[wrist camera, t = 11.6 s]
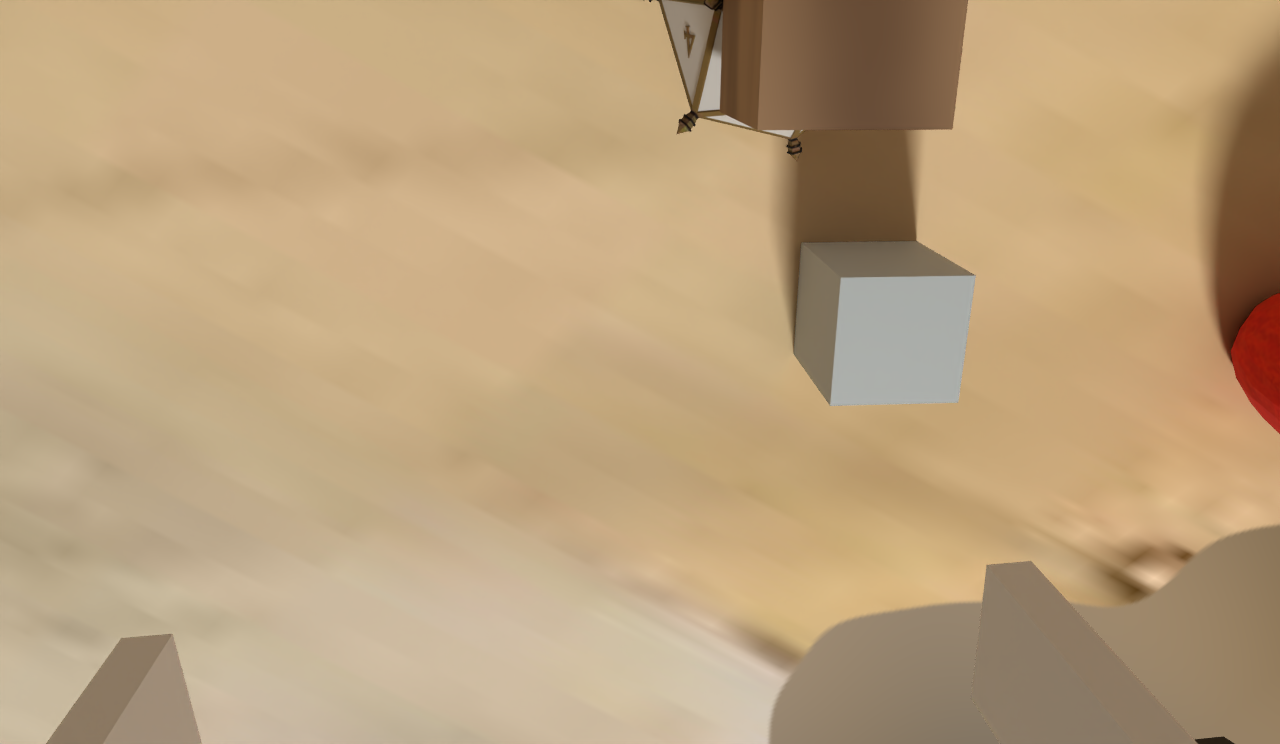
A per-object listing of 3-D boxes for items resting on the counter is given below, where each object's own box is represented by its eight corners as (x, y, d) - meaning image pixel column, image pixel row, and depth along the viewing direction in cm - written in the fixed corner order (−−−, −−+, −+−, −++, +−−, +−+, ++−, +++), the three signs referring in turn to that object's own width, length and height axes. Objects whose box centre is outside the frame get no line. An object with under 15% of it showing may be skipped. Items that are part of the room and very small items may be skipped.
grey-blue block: (793, 353, 40) (830, 405, 34) (800, 242, 38) (840, 277, 32) (903, 351, 40) (958, 402, 34) (916, 240, 38) (975, 275, 32)
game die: (689, 36, 38) (543, -12, 30) (848, -126, 34) (730, -237, 25) (803, 206, 36) (684, 206, 28) (986, 60, 32) (909, 8, 24)
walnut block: (719, 111, 28) (757, 129, 22) (725, -66, 26) (768, -94, 21) (876, 111, 28) (952, 129, 23) (892, -64, 26) (978, -91, 21)
